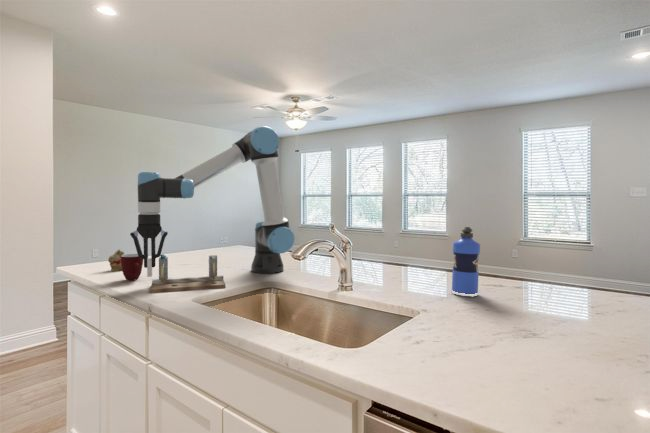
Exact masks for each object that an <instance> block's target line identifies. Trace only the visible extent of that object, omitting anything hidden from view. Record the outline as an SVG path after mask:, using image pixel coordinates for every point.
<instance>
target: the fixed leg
mask: <svg viewBox="0 0 650 433" xmlns="http://www.w3.org/2000/svg"><path fill="white" fill-rule="evenodd" d="M208 276H209V277H213V279H215V276H218V256H217V255H216V254H214V255H208Z"/></svg>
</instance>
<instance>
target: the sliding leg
mask: <svg viewBox="0 0 650 433" xmlns="http://www.w3.org/2000/svg"><path fill="white" fill-rule="evenodd" d="M158 279H159V280H161V282H164V279H169V257H168V256H167V254H166V253H164V254H162V253H161V255H160V257H158Z"/></svg>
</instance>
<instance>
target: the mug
mask: <svg viewBox="0 0 650 433" xmlns="http://www.w3.org/2000/svg"><path fill="white" fill-rule="evenodd" d="M121 266H122V271H121V272H122V274H123V276H124V278H125V279H126V281H129V282H130V281H131V282H132V281H137V280H139V278H140V276H141V274H142V269H143V266H144V259H143V258H139V257H138V254H137V253H131V254H130V253H129V254H123V255H122V256H121Z"/></svg>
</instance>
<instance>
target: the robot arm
mask: <svg viewBox="0 0 650 433" xmlns="http://www.w3.org/2000/svg"><path fill="white" fill-rule="evenodd" d="M231 145H232V146H231V147H229V148H228V149H226V150H224V151H222V152H220V153H219V154H217V155H215V156H213V157H211V158H209V159H207V160H205V161H203V162H202V163H200V164H198V165H196V166H195V167H193V168H191V169H189V170H187V171H186V172H184V173H181V174H180V175H178V176H177V177H175V178H166V177H161V174H160V173H159V172H157V171H156V172H154V171H153V172H152V171H141V172H139V173H138V175H137V213H139V214H138V215H137V227H136V230H134V231H131V232H130V233H129V234H130V236H131V238H132V239H133V243H134V246H135V250H136V252H137V253H136V254H138V257H139V258H143V267H144V268H146V269H147V272H146V273H147V274H146V276H147V277H148V278H152V277H153V268H155V267H156V259H158V258H159V257H161V255H162V250H163V249H164V248H163V247H164V243H165V240H166V237H167V236H168V234H169V232H168V231H166V230H164V229H163V228H162V226H161V214H160V213H161V199H163V198H164V199H165V198H166V199H184V200H185V199H192V198H193V197H194V194H195V189H196V188H198V187H199V186H201V185H203V184H205V183H206V182H208V181H210V180H212V179H213V178H216V177H217V176H219V175H221V174H222V173H224V172H226V171H228V170H229V169H231V168H233V167H235V166H237V165H238V164H240V163H243V164H244V163H247V162H249V161H251V163H253V164H254V165H255V169H256V175H257V176H256V177H257V181H258V186H259V187H258V188H259V194H260V200H261V206H262V212H263V217H264V221H259V222H256V224H255V226H254V227H255V228H254V234H255V235H254V236H255V237H254V238H255V239H254V242H255V244H254V245H255V246H254V253H255V254H254V257H253V260H252V261H251V262H252V263H251V267H250V268H251V270H250V271H251V272H253V273H257V274H274V273H275V272H277V273H281V272H283V271H284V264H283V263H284V262H283V260H282V257H281V256H282V255H281V254H285V253H287V252H289V251H290V250H291V249H292V248H293V247H294V244H295V234H294V232H293V231H292V229H291V227H290V223H289V220H288V218H287V217H285V215H284V214H285V213H284V207H283V200H282V194H281V189H280V187H281V186H280V183H279V175H278V169H277V168H278V167H277V160H278V159H279V152H278V149H279V146H280V137H279V135H278V133H277V131H275V129H273V128H272V127H269V126H266V125H265V126H257V127H255V128H253V130H251V131H249V132H248V133H246V134H245V135H244V136H242V138H240V139H238V140H237V141H235V142H234V143H232V144H231ZM159 234H160V236H161V237H160V241H159V245H158V247H157V248H158V250H157V253H156V238H157V237H158V236H159ZM139 235H140V236H141V237H142V240H143V252H142V248H141V244H140V241H139V240H140V239H139V238H138V236H139ZM149 239H150V241H151V242H150V244H151V246H150V248H151V249H150V250H151V251H150V252H151V255H150V256H151V257H149ZM280 271H281V272H280Z"/></svg>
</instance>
